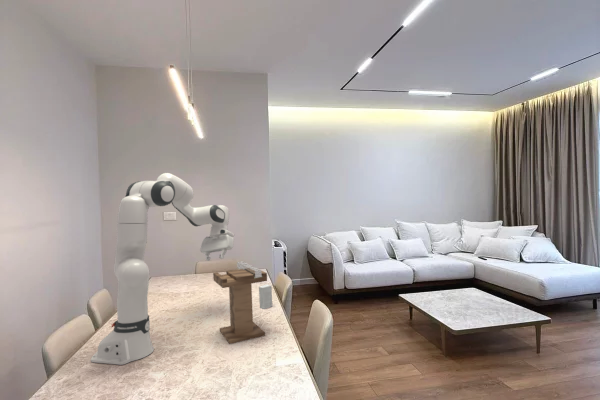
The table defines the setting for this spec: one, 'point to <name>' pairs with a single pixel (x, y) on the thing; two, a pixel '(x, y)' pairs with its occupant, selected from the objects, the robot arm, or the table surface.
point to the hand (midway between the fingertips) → (214, 259)
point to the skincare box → (265, 296)
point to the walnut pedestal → (240, 304)
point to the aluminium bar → (249, 269)
